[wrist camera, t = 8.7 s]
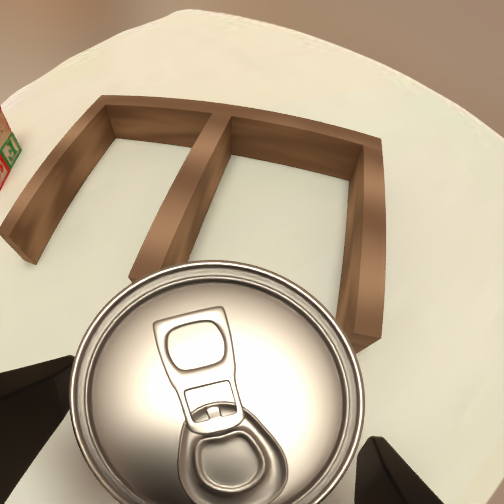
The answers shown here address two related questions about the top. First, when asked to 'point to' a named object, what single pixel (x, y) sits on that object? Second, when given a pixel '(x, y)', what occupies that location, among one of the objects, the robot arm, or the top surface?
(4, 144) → the stack of blocks
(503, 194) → the top surface
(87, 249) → the top surface
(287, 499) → the can
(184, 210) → the shelf lanes
